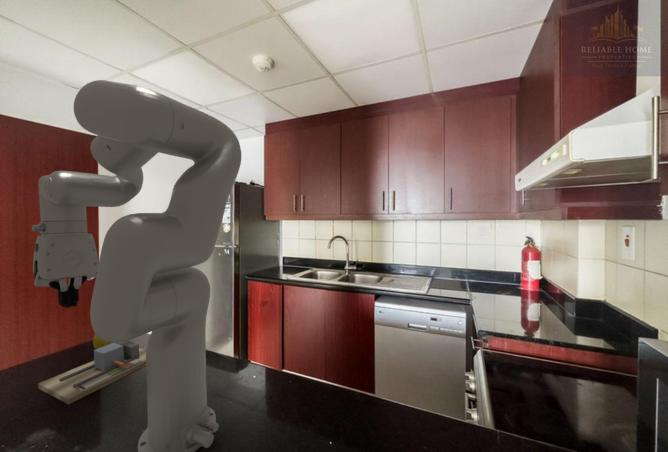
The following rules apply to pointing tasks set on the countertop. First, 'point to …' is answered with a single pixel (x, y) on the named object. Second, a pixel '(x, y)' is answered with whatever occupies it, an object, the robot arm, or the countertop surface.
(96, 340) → the lemon
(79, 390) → the gauge board
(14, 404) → the countertop surface
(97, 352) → the slider block with pointer
